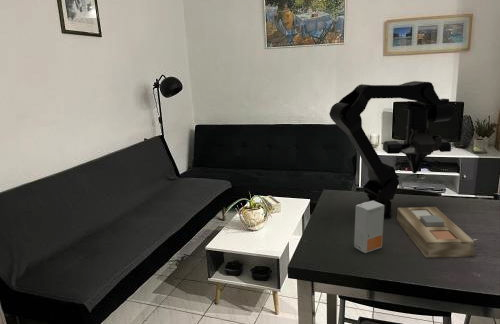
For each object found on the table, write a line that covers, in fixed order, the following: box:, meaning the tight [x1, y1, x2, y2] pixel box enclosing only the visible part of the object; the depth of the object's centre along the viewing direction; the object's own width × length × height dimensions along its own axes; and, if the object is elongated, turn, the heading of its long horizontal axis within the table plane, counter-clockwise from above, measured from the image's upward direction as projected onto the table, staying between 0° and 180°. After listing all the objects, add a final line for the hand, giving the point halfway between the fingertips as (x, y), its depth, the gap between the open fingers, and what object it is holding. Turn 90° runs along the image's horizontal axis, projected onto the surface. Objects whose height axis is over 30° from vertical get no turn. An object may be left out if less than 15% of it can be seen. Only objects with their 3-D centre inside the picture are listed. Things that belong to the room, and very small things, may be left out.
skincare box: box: [353, 201, 385, 254], centre depth 97 cm, size 6×4×12 cm
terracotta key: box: [431, 231, 456, 239], centre depth 95 cm, size 4×4×2 cm
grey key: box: [420, 215, 444, 227], centre depth 101 cm, size 4×4×2 cm
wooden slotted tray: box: [396, 206, 475, 258], centre depth 102 cm, size 11×22×4 cm, turn 177°
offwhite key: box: [411, 210, 431, 216], centre depth 109 cm, size 4×4×2 cm
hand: (414, 173), depth 118 cm, fingers closed
